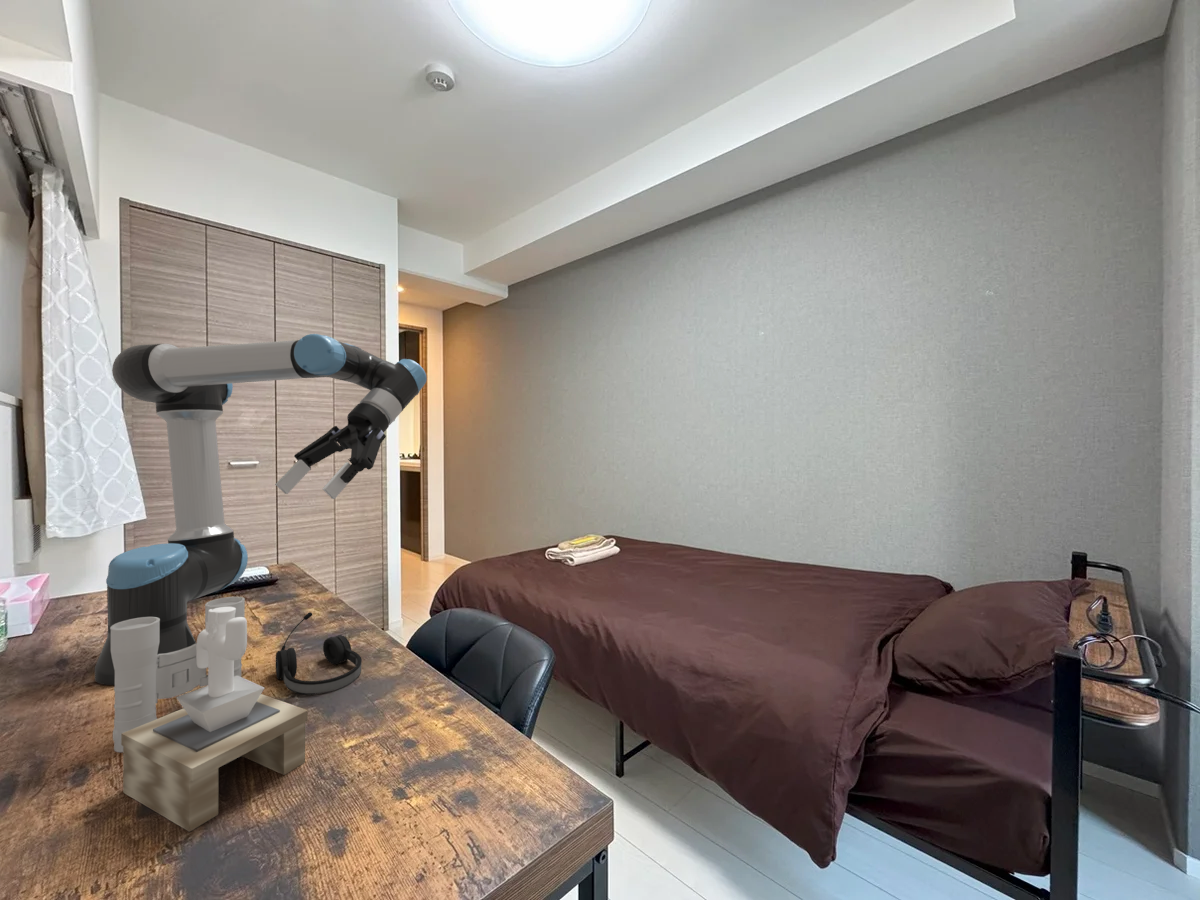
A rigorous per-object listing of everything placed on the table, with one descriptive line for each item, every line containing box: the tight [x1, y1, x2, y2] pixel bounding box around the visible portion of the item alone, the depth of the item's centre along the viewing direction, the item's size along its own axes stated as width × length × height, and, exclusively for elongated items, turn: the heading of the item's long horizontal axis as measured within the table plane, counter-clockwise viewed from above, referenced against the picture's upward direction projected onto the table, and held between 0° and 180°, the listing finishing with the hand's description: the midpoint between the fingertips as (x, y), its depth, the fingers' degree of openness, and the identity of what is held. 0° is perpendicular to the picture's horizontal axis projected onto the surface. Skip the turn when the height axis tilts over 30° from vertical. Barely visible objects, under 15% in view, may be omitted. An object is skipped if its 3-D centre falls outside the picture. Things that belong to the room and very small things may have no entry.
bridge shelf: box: [121, 693, 309, 833], centre depth 67 cm, size 16×14×8 cm
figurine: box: [175, 607, 265, 732], centre depth 67 cm, size 7×9×15 cm
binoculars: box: [110, 596, 246, 753], centre depth 80 cm, size 17×5×18 cm, turn 152°
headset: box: [274, 612, 362, 696], centre depth 97 cm, size 13×9×19 cm
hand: (304, 491), depth 92 cm, fingers open, 13 cm apart
